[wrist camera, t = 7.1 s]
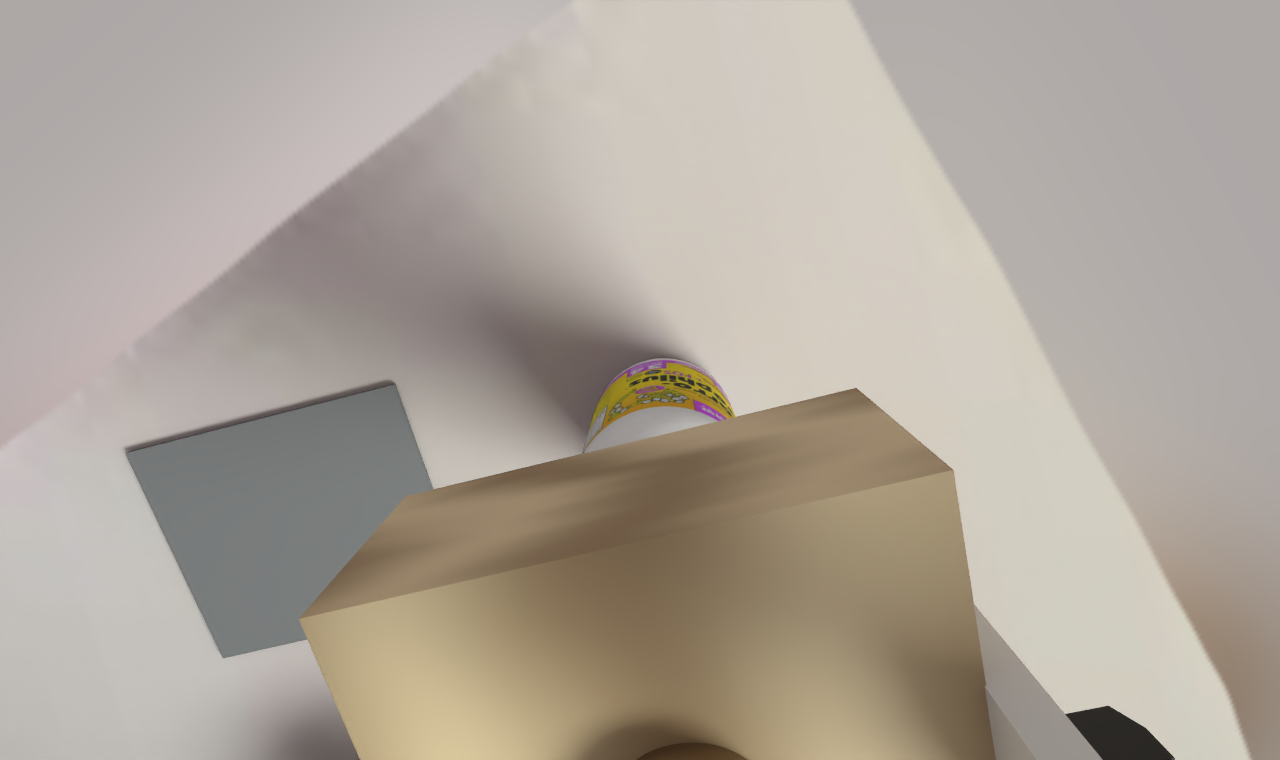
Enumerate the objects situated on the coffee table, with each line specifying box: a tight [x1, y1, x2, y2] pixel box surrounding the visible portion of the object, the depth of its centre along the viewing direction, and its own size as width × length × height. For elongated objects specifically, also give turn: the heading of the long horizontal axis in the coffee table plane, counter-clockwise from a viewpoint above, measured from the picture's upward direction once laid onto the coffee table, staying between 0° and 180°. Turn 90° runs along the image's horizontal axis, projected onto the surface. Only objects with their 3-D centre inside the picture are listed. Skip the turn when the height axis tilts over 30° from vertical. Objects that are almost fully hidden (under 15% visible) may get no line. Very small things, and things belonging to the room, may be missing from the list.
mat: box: [126, 384, 433, 658], centre depth 33 cm, size 14×12×1 cm
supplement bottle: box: [582, 358, 735, 454], centre depth 25 cm, size 7×7×13 cm
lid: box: [299, 388, 996, 760], centre depth 13 cm, size 10×10×5 cm
